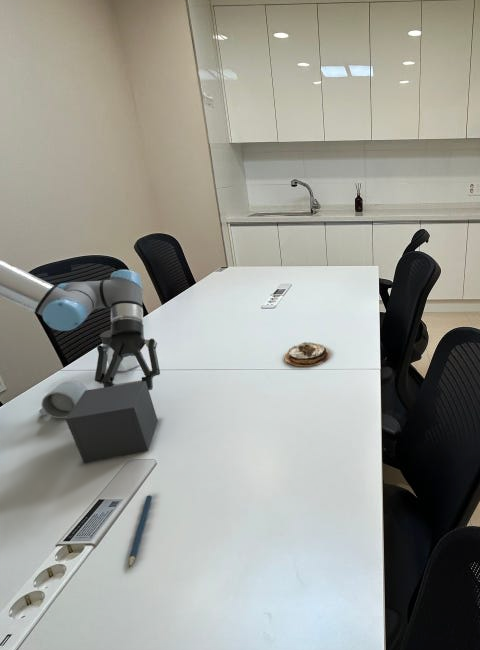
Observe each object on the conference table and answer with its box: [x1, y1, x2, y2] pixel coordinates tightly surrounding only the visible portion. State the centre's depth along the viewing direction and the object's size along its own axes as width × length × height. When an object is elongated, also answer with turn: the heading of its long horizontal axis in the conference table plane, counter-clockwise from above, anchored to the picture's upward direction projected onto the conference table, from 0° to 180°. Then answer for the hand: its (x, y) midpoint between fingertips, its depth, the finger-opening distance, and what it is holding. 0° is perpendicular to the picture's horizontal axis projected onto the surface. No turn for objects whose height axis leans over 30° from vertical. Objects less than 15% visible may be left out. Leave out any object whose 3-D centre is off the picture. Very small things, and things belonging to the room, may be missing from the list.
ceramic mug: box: [38, 380, 88, 419], centre depth 102 cm, size 11×8×8 cm
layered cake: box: [284, 341, 331, 367], centre depth 129 cm, size 15×15×4 cm
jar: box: [99, 328, 140, 372], centre depth 124 cm, size 9×8×12 cm
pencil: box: [128, 495, 153, 568], centre depth 68 cm, size 1×1×15 cm
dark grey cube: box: [64, 381, 159, 464], centre depth 89 cm, size 12×13×12 cm
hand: (129, 405), depth 98 cm, fingers closed on basket, 7 cm apart
